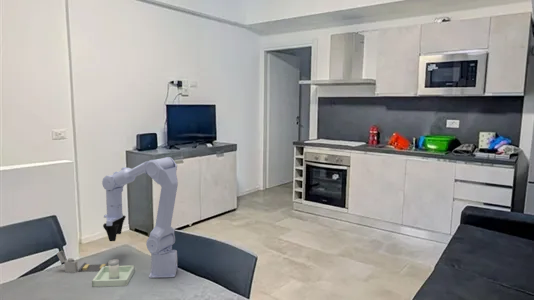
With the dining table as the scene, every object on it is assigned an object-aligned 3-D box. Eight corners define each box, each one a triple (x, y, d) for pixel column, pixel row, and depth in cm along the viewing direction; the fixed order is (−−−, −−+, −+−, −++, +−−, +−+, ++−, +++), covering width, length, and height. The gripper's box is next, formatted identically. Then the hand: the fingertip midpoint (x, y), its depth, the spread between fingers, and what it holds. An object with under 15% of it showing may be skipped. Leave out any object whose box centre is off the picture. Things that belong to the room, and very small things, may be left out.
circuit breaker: (77, 271, 139) (77, 251, 138) (75, 273, 138) (74, 253, 137) (60, 270, 140) (59, 250, 139) (57, 272, 138) (56, 252, 137)
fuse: (120, 275, 136) (120, 258, 135) (117, 280, 132) (116, 263, 132) (110, 275, 136) (110, 259, 135) (107, 280, 132) (106, 263, 131)
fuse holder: (109, 265, 145) (109, 262, 145) (105, 272, 139) (104, 269, 139) (84, 265, 144) (84, 262, 144) (78, 272, 138) (78, 269, 138)
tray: (134, 271, 140) (134, 265, 140) (126, 286, 129) (126, 280, 129) (103, 272, 139) (102, 266, 139) (92, 287, 128) (91, 281, 127)
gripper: (109, 199, 153) (110, 231, 155) (97, 209, 139) (98, 244, 140) (127, 199, 154) (127, 230, 156) (117, 209, 139) (118, 244, 141)
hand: (115, 237), depth 148 cm, fingers open, 7 cm apart
